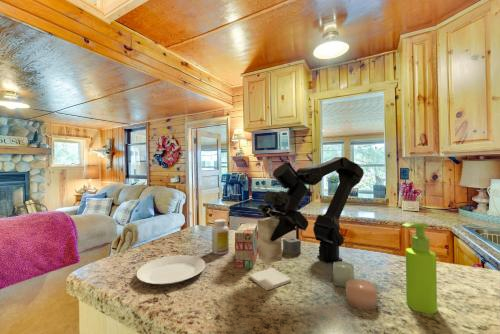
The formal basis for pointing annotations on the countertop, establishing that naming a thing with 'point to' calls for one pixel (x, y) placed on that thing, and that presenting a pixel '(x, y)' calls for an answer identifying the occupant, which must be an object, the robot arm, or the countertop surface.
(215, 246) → the supplement bottle
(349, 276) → the sage jar
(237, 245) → the stack of blocks
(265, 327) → the countertop surface
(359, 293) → the pink soap bar
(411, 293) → the soap dispenser
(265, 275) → the tile
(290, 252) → the dice cube
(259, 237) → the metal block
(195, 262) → the plate
